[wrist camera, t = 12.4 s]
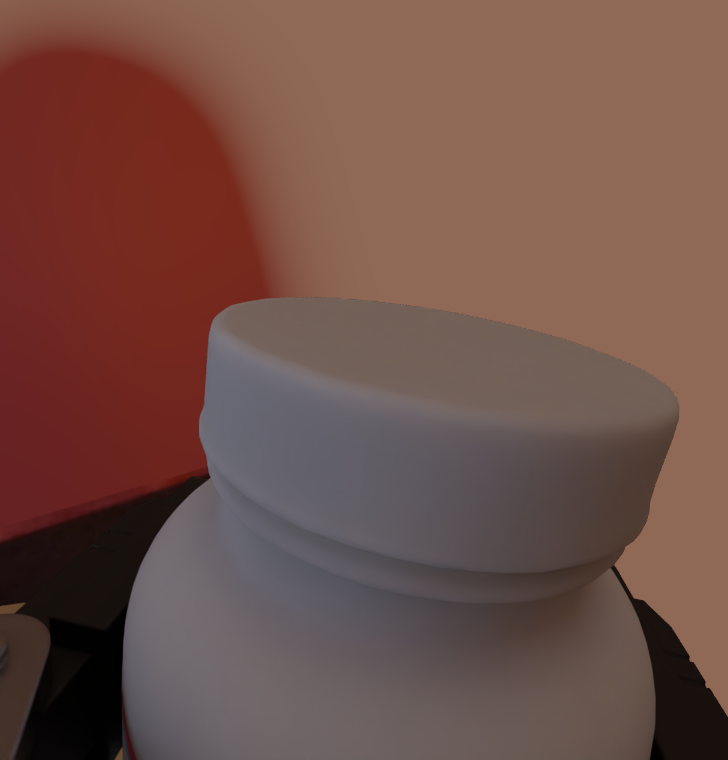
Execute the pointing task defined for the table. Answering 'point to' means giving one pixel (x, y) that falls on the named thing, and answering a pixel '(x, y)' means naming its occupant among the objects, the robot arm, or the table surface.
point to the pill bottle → (400, 546)
